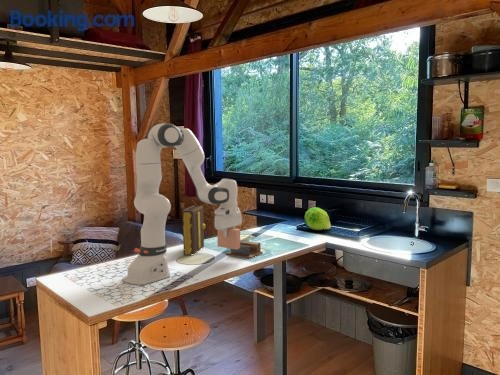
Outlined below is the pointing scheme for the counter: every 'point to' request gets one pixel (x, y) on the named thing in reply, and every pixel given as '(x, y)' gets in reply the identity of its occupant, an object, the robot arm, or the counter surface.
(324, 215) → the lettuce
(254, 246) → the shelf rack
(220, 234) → the boxed book
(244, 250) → the bookend
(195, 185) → the robot arm
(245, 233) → the counter surface
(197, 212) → the book
